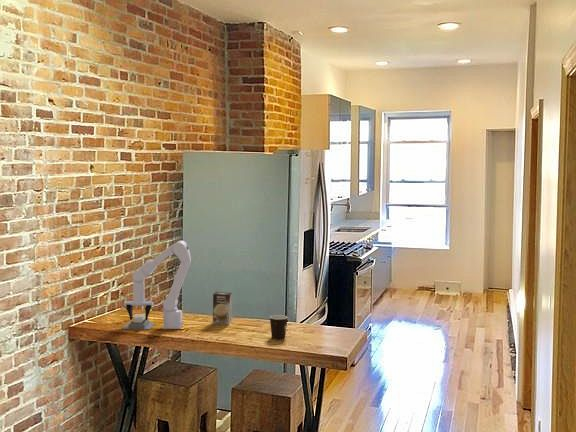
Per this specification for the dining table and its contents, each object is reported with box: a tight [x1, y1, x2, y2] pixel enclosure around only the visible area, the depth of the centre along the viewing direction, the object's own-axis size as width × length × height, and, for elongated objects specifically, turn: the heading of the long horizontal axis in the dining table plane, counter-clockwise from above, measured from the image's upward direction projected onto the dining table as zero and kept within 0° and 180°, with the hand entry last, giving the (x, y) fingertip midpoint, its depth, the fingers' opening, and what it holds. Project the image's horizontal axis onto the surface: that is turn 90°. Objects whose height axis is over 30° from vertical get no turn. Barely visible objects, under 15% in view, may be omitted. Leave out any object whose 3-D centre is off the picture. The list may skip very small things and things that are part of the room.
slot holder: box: [121, 318, 156, 331], centre depth 332 cm, size 14×13×2 cm
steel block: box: [132, 313, 146, 324], centre depth 332 cm, size 7×4×5 cm, turn 0°
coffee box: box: [211, 291, 233, 326], centre depth 341 cm, size 9×6×16 cm
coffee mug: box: [269, 314, 288, 340], centre depth 314 cm, size 12×9×10 cm
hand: (138, 319), depth 332 cm, fingers open, 7 cm apart
